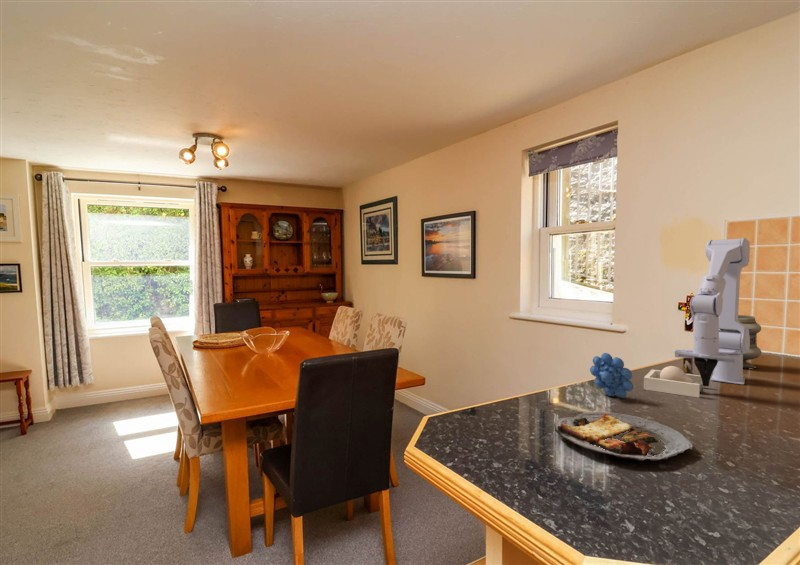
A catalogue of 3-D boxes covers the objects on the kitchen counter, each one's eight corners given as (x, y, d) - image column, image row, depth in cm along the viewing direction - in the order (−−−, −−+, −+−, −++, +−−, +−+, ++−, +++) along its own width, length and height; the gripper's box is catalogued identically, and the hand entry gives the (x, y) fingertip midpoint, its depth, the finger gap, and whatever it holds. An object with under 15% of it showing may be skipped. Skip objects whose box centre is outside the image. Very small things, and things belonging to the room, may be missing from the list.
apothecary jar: (730, 370, 141) (730, 317, 140) (710, 362, 153) (710, 314, 152) (770, 370, 139) (770, 317, 138) (746, 362, 151) (746, 314, 150)
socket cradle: (651, 380, 130) (651, 369, 130) (703, 387, 121) (703, 375, 121) (643, 389, 121) (643, 377, 121) (699, 397, 112) (699, 385, 112)
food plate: (634, 479, 69) (634, 458, 69) (531, 433, 90) (531, 417, 90) (712, 451, 81) (712, 433, 81) (605, 416, 102) (605, 402, 102)
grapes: (583, 394, 116) (582, 352, 116) (594, 390, 121) (594, 349, 120) (626, 404, 107) (626, 359, 107) (637, 399, 112) (636, 355, 111)
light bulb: (710, 375, 116) (668, 359, 124) (701, 384, 113) (658, 366, 121) (704, 395, 119) (663, 377, 127) (695, 403, 115) (653, 385, 123)
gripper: (673, 337, 117) (673, 384, 118) (738, 342, 108) (738, 393, 108) (676, 333, 123) (676, 379, 123) (739, 338, 113) (739, 387, 113)
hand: (705, 385), depth 116 cm, fingers closed
